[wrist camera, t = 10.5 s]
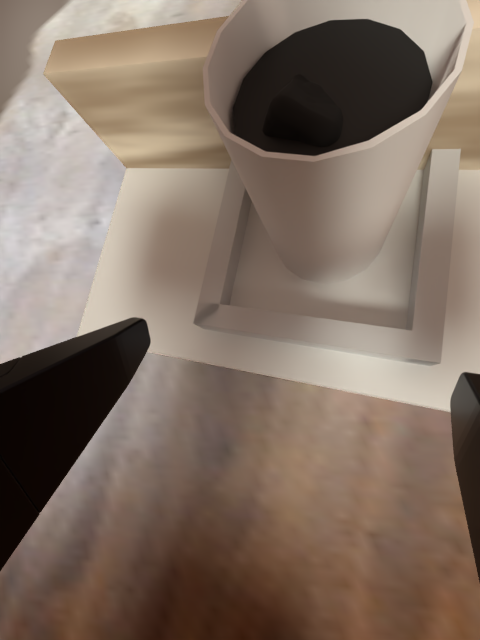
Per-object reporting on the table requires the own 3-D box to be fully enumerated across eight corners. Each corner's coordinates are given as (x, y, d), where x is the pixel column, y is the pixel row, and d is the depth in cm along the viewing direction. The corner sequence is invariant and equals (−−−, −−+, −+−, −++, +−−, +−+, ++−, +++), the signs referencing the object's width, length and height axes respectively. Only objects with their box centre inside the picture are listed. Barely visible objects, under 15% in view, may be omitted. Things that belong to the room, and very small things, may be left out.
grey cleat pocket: (468, 415, 16) (504, 420, 13) (97, 342, 22) (58, 332, 19) (484, 193, 18) (519, 148, 15) (142, 185, 25) (113, 152, 21)
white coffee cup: (359, 312, 16) (396, 197, 7) (246, 263, 19) (160, 125, 9) (416, 199, 17) (523, -49, 8) (300, 165, 19) (270, -60, 10)
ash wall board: (484, 193, 18) (620, 13, 10) (142, 185, 25) (43, 73, 16) (487, 161, 18) (620, -40, 10) (148, 162, 25) (55, 40, 16)
